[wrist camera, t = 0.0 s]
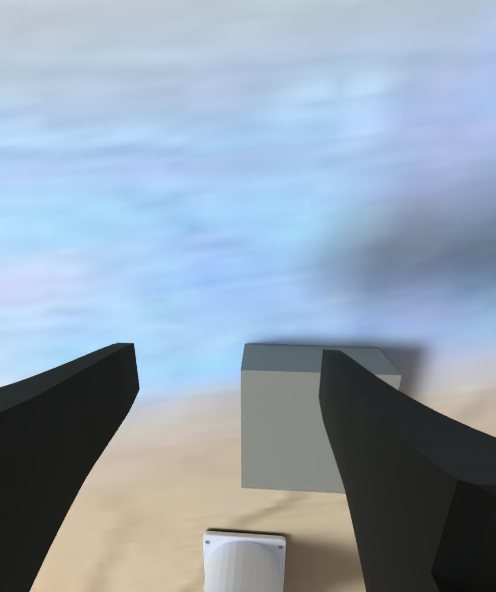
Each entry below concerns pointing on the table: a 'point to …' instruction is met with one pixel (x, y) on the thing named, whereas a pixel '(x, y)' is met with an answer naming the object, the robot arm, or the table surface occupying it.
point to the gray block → (292, 416)
